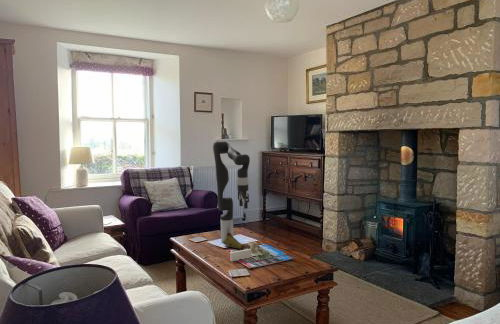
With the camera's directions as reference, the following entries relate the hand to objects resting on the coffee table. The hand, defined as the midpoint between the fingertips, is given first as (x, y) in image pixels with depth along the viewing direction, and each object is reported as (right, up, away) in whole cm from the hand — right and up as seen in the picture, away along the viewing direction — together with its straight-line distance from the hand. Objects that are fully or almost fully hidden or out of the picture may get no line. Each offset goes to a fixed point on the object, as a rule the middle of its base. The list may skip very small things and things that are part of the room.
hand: (243, 207), depth 243 cm
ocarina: (-7, -30, +9) cm, 32 cm away
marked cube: (+6, -30, -3) cm, 30 cm away
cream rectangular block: (-1, -32, -15) cm, 35 cm away
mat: (+6, -30, -3) cm, 31 cm away
